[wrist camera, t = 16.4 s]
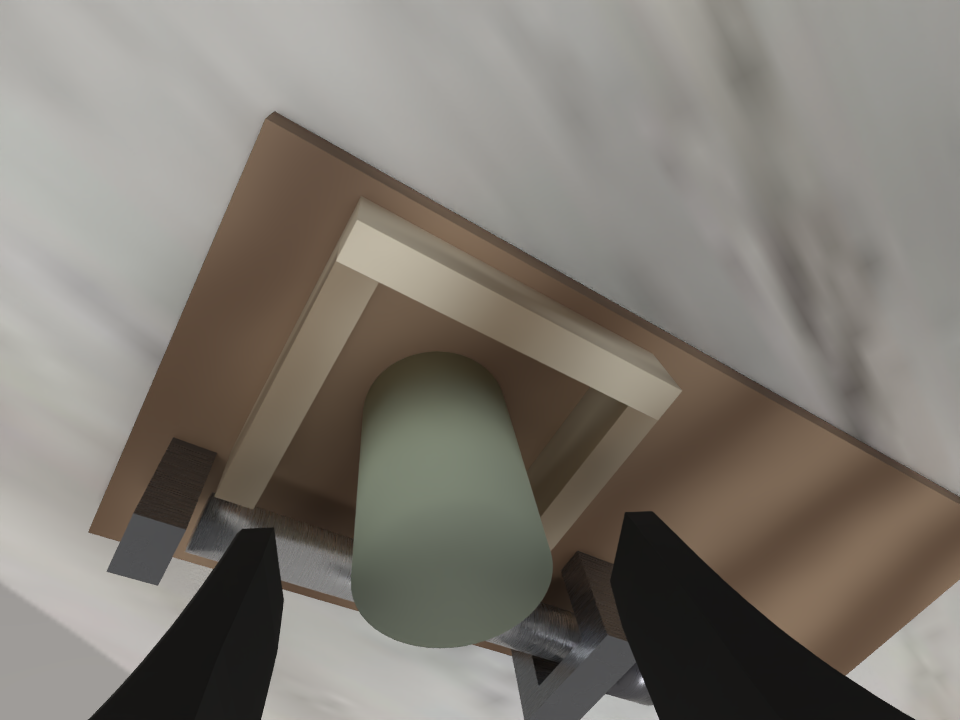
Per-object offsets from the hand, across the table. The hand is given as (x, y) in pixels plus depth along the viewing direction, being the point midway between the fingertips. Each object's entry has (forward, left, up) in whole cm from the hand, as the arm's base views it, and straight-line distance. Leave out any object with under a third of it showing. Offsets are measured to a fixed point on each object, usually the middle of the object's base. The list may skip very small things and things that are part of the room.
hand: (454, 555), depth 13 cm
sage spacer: (0, 0, -5) cm, 5 cm away
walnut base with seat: (-7, +2, -7) cm, 10 cm away
